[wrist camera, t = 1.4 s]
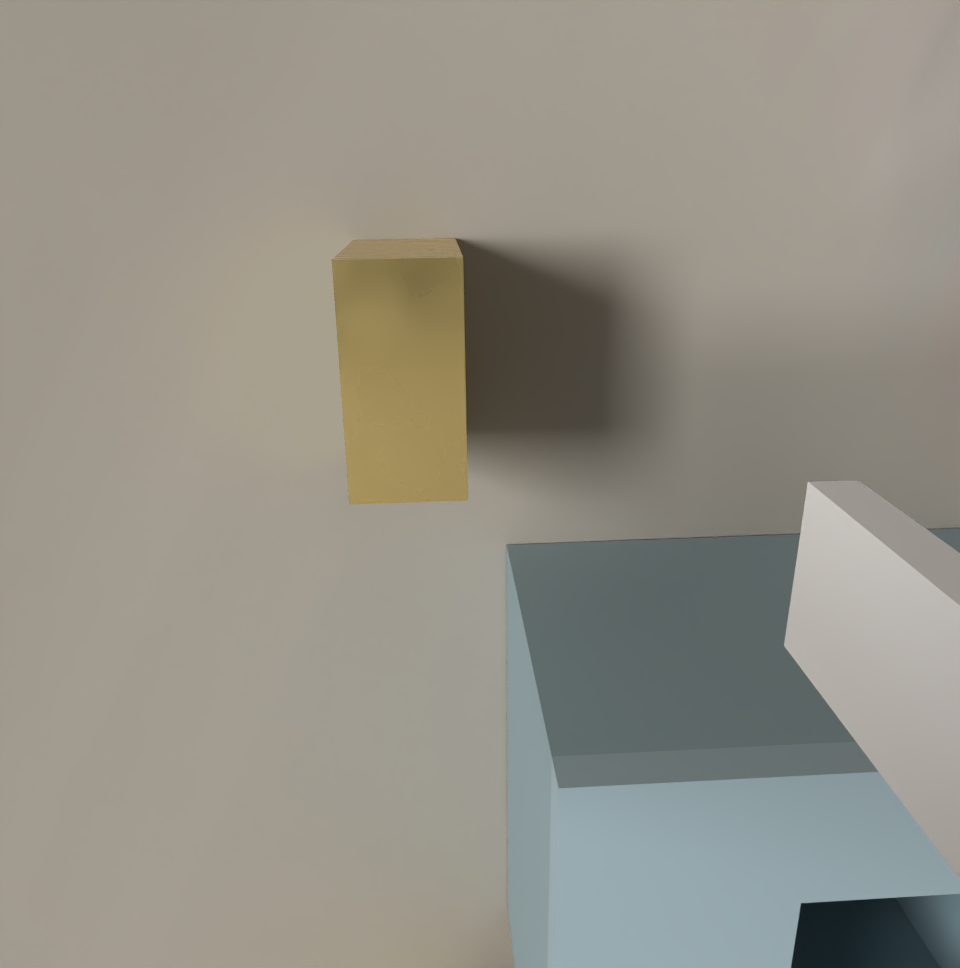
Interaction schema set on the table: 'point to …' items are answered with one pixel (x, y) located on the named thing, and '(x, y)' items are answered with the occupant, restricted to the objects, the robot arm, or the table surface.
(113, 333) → the table surface
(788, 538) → the box
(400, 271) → the yellow rectangular block
